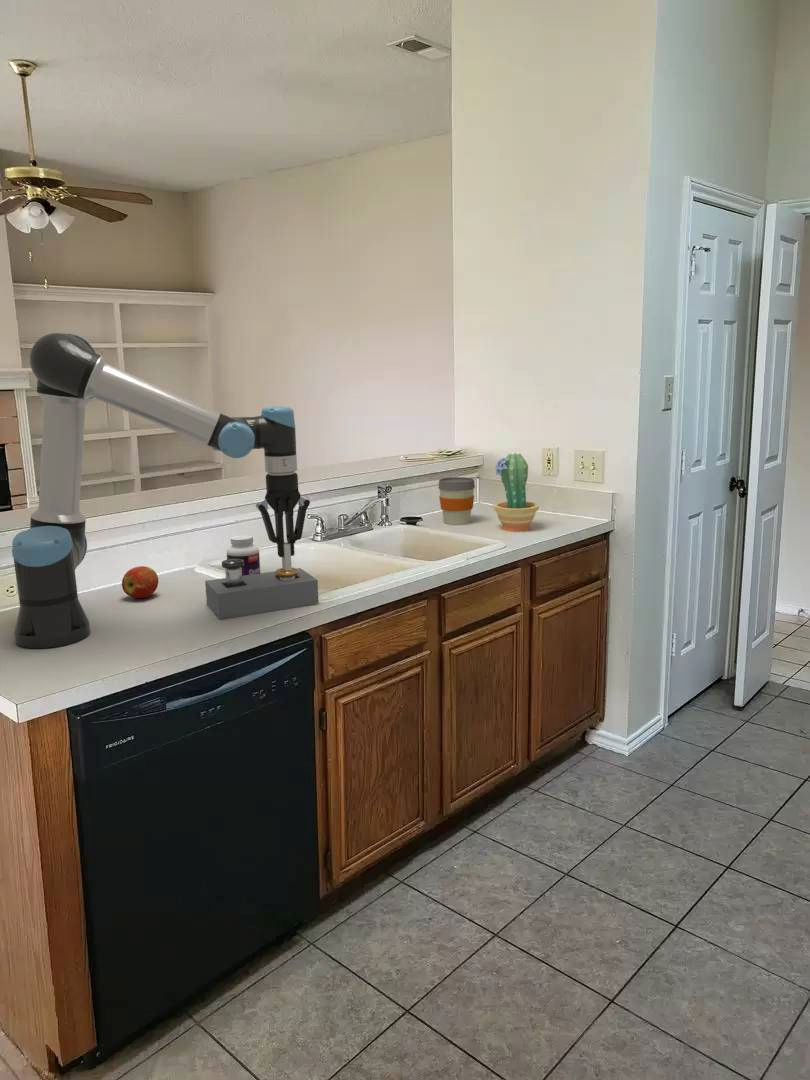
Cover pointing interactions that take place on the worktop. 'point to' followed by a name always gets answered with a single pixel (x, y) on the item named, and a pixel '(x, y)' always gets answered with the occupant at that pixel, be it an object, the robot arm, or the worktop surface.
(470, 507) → the reusable coffee cup
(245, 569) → the pill bottle
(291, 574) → the orange capped vial
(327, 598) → the worktop surface
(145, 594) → the apple
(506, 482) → the potted cactus
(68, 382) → the robot arm
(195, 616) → the worktop surface
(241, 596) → the grey vial holder
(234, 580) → the knob left
